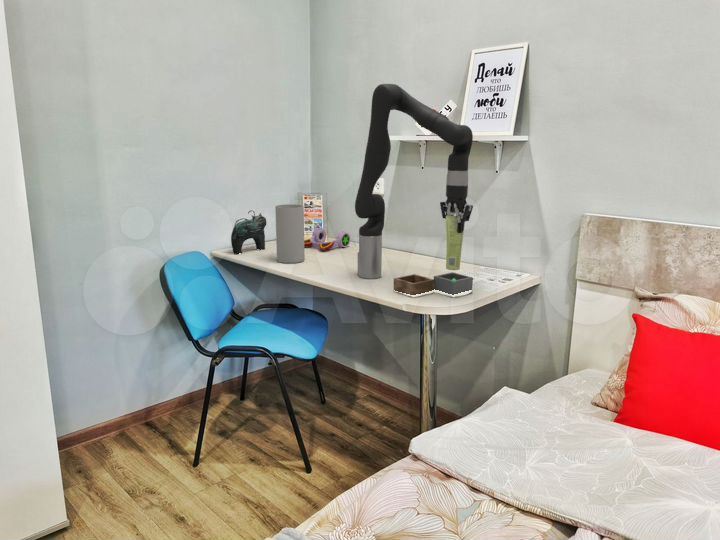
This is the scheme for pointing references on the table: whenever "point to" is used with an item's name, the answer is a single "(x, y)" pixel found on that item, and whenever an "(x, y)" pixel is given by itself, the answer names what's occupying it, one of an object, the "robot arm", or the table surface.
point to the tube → (453, 243)
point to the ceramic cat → (248, 232)
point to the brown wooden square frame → (413, 284)
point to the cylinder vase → (290, 233)
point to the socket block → (453, 283)
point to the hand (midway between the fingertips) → (454, 231)
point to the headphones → (320, 237)
